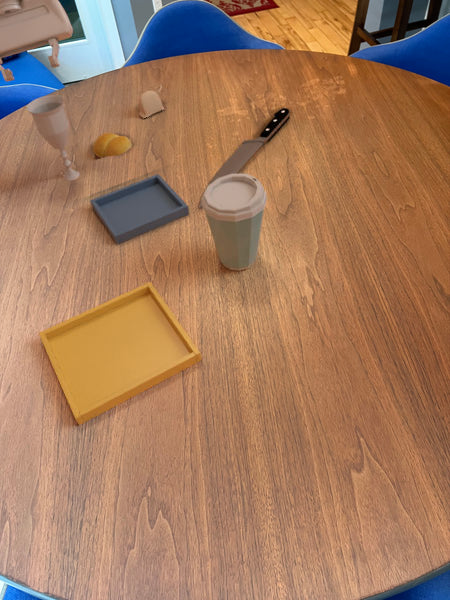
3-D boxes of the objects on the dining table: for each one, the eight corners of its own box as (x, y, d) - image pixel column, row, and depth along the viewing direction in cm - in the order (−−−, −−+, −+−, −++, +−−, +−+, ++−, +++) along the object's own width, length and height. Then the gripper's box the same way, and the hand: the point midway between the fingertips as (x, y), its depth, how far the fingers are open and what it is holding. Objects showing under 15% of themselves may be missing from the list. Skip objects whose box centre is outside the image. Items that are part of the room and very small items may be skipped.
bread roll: (120, 165, 109) (115, 149, 106) (89, 157, 112) (84, 141, 109) (140, 147, 113) (137, 131, 110) (110, 139, 117) (106, 124, 114)
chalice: (73, 195, 102) (43, 116, 89) (51, 187, 105) (19, 108, 91) (96, 178, 106) (71, 99, 93) (74, 169, 109) (47, 92, 95)
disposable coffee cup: (228, 288, 82) (222, 219, 70) (197, 253, 88) (186, 185, 77) (278, 262, 85) (280, 193, 74) (245, 230, 91) (242, 162, 80)
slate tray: (117, 244, 91) (115, 236, 90) (92, 208, 99) (89, 200, 98) (189, 214, 96) (188, 206, 94) (159, 181, 104) (158, 173, 102)
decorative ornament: (135, 114, 124) (131, 94, 120) (162, 102, 127) (158, 82, 123) (144, 119, 122) (139, 99, 118) (170, 108, 125) (167, 87, 121)
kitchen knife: (184, 208, 98) (181, 199, 96) (272, 114, 120) (271, 106, 118) (205, 213, 96) (203, 204, 94) (292, 116, 117) (291, 107, 116)
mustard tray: (79, 425, 67) (75, 418, 65) (42, 340, 77) (38, 332, 75) (201, 360, 72) (200, 352, 71) (152, 289, 83) (150, 281, 81)
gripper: (-55, 7, 88) (-25, 84, 91) (51, -25, 88) (78, 54, 91) (-39, 19, 94) (-12, 91, 97) (60, -11, 94) (85, 63, 97)
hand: (32, 73), depth 94 cm, fingers open, 8 cm apart
